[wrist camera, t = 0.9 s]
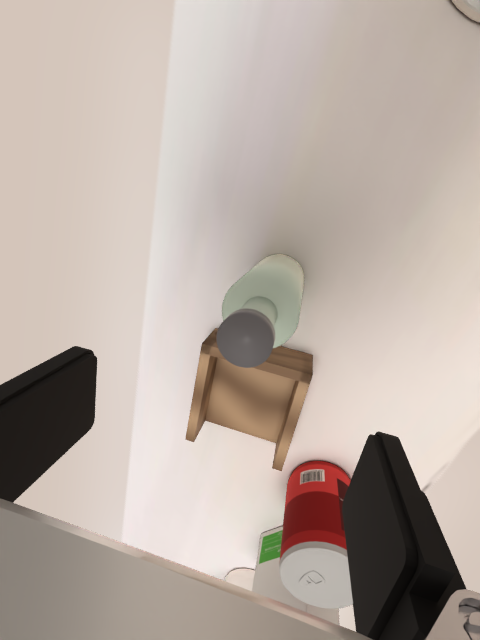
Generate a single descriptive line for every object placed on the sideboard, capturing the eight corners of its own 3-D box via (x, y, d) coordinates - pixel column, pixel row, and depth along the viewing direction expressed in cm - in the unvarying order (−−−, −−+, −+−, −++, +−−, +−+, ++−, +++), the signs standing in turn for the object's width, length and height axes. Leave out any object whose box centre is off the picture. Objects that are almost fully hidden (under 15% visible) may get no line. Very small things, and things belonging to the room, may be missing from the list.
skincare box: (309, 514, 41) (307, 679, 26) (338, 550, 41) (352, 730, 27) (258, 533, 44) (230, 691, 29) (286, 566, 44) (273, 736, 30)
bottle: (259, 248, 32) (205, 281, 16) (310, 260, 31) (307, 307, 15) (248, 297, 33) (190, 370, 18) (296, 310, 33) (281, 397, 17)
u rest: (215, 328, 35) (202, 343, 31) (312, 355, 34) (312, 375, 29) (199, 415, 39) (185, 439, 35) (285, 442, 38) (281, 471, 34)
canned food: (276, 487, 40) (263, 578, 30) (311, 446, 37) (310, 533, 27) (327, 519, 40) (332, 622, 30) (366, 481, 37) (387, 582, 27)
